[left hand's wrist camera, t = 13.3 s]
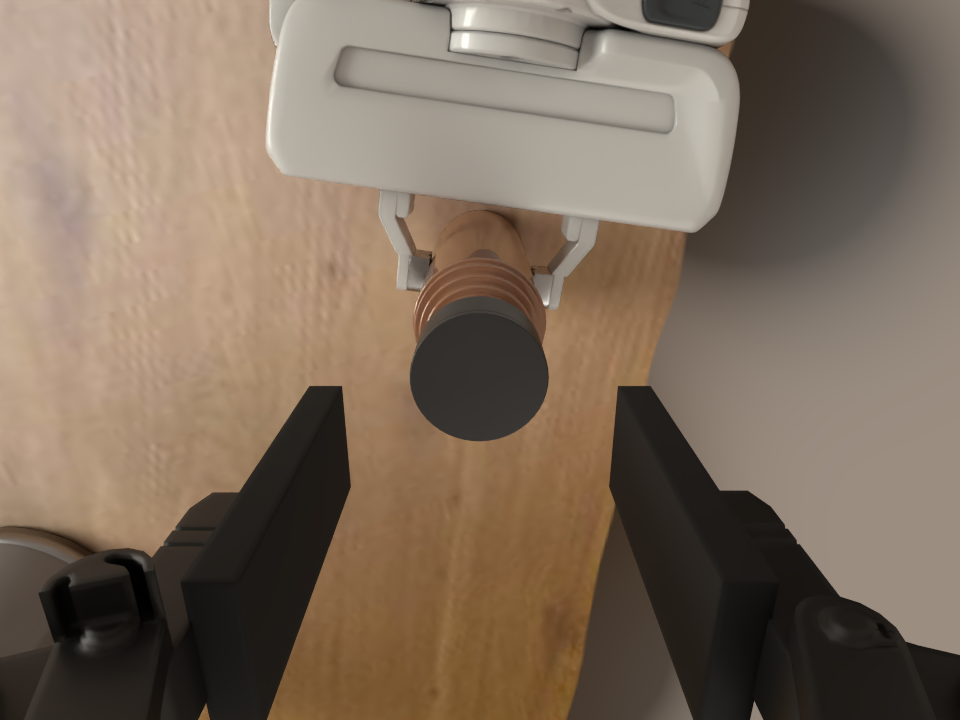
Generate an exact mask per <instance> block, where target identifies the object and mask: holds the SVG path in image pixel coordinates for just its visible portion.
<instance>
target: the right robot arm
mask: <svg viewBox="0 0 960 720" xmlns="http://www.w3.org/2000/svg"><path fill="white" fill-rule="evenodd" d="M749 3H750V0H414V2H412V0H269V27H270V33H271V37H272V40H273V43H274V45H275V47H276V48H277V51H276V56H275V61H274V67H273V73H272V79H271V86H270V94H269V103H268V113H267V126H266V149H267V152H268V154H269V156H270V157H271V159H272V160H273V162H274V163H275V165H276V166H277V168H278V169H279V170H280V172H281V173H282V174H284V175H285V176H289V177H296V178H303V179H310V180H317V181H324V182H331V183H339V184H346V185H353V186H360V187H367V188H374V189H380V198H379V211H378V215H379V218H380V220H381V222H382V224H383V226H384V228H385V230H386V232H387V235H388V237H389V239H390V241H391V243H392V245H393V247H394V249H395V252H396V254H399V261H398V273H397V289H400V290H405V291H416V292H420V290H421V287H422V285H423V282H424V279H425V277H426V274H427V271H428V269H429V266H430V263H431V261H432V252H430V251H424V250H418V249H416V246H415V244H414V241H413V239H412V237H411V234H410V232H409V230H408V227H407V225H406V223H405V220H404V218H407V217H408V216H409V215H410V214H411V212H412V211H413V207H414V198H415V194H417V195H424V196H431V197H438V198H446V199H453V200H460V201H467V202H474V203H481V204H488V205H496V206H503V207H510V208H517V209H524V210H531V211H538V212H545V213H553V214H560V215H563V220H562V226H561V232H562V234H563V235H564V236H565V237H566V238H567V240H568V241H567V242H566V243H565V245H564V246H563V247H562V248H561V250H560V251H559V252H558V253H557V255H556V256H555V257H554V258H553V260H552V261H551V262H550V263H549V265H548V267H542V266H533V265H531V270H532V273H533V276H534V279H535V282H536V284H537V287H538V290H539V293H540V296H541V298H542V301H543V304H544V308H545V309H550V310H557V309H558V306H559V303H560V297H561V292H562V287H563V282H564V277H567V276H568V275H569V274H570V273H571V272H572V271H573V269H574V268H575V267H576V266H577V265H578V264H579V262H580V261H581V260H582V259H583V258H584V257H585V256H586V254H587V253H588V252H589V251H590V250H591V249H592V247H593V246H594V245H595V241H596V236H597V231H598V226H599V222H600V220H603V221H610V222H617V223H624V224H631V225H638V226H645V227H652V228H660V229H667V230H674V231H681V232H689V233H694V232H696V231H698V230H699V229H701V228H702V227H703V226H704V225H705V224H706V223H707V222H708V221H710V220H711V219H712V218H713V217H714V216H715V215H716V214H717V212H718V210H719V208H720V205H721V202H722V198H723V195H724V191H725V187H726V183H727V179H728V174H729V170H730V165H731V160H732V154H733V149H734V143H735V137H736V130H737V122H738V114H739V105H740V89H739V81H738V77H737V73H736V71H735V68H734V66H733V65H732V63H731V62H730V60H729V59H728V58H727V57H726V56H725V55H724V54H723V53H722V52H720V51H719V50H717V48H719V47H722V46H724V45H725V44H727V43H729V42H730V41H732V40H734V39H735V38H736V37H737V36H738V35H739V33H740V32H741V30H742V28H743V25H744V22H745V20H746V16H747V13H748V12H747V11H748V8H749Z"/></svg>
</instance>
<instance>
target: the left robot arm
mask: <svg viewBox="0 0 960 720" xmlns="http://www.w3.org/2000/svg"><path fill="white" fill-rule="evenodd" d="M350 487H351V484H350V472H349V461H348V449H347V438H346V427H345V415H344V404H343V392H342V386H309V388H308V389H307V391H306V392H305V394H304V395H303V397H302V398H301V400H300V401H299V403H298V404H297V406H296V407H295V409H294V410H293V412H292V413H291V415H290V416H289V418H288V419H287V421H286V422H285V424H284V425H283V427H282V429H281V430H280V432H279V433H278V435H277V436H276V438H275V439H274V441H273V442H272V444H271V445H270V447H269V448H268V450H267V451H266V453H265V454H264V456H263V457H262V459H261V460H260V462H259V463H258V465H257V466H256V468H255V469H254V471H253V472H252V474H251V475H250V477H249V478H248V480H247V481H246V483H245V484H244V486H243V487H242V489H241V490H240V492H239V493H211V494H210V495H209V496H207V497H206V498H204V499H203V500H201V501H200V502H198V503H197V504H196V505H194V506H193V507H191V508H190V509H189V510H188V511H187V513H186V514H185V515H184V517H183V518H182V519H181V521H180V522H179V523H178V525H177V526H176V529H175V531H172V532H171V534H170V535H169V536H168V538H167V539H166V540H165V542H164V546H161V547H160V548H159V549H158V551H157V552H156V553H155V555H154V556H153V557H152V558H151V557H150V556H149V555H147V554H146V553H145V552H144V551H140V550H135V549H130V548H125V549H112V550H106V551H102V552H99V553H95V554H93V553H91V552H89V551H88V550H86V549H85V548H83V547H81V546H79V545H77V544H75V543H73V542H71V541H69V540H67V539H64V538H62V537H59V536H56V535H53V534H50V533H46V532H43V531H38V530H33V529H27V528H18V527H0V720H198V719H199V716H200V714H201V712H202V710H203V708H204V706H205V704H206V703H207V708H208V713H209V717H210V720H267V717H268V715H269V712H270V709H271V706H272V704H273V701H274V698H275V695H276V693H277V690H278V687H279V684H280V681H281V679H282V676H283V673H284V670H285V668H286V665H287V662H288V659H289V656H290V654H291V651H292V648H293V645H294V643H295V640H296V637H297V634H298V632H299V629H300V626H301V623H302V620H303V618H304V615H305V612H306V609H307V607H308V604H309V601H310V598H311V595H312V593H313V590H314V587H315V584H316V582H317V579H318V576H319V573H320V571H321V568H322V565H323V562H324V559H325V557H326V554H327V551H328V548H329V546H330V543H331V540H332V537H333V535H334V532H335V529H336V526H337V523H338V521H339V518H340V515H341V512H342V510H343V507H344V504H345V501H346V498H347V496H348V493H349V490H350ZM609 487H610V490H611V493H612V496H613V498H614V501H615V504H616V507H617V510H618V512H619V515H620V518H621V521H622V523H623V526H624V529H625V531H626V535H627V537H628V540H629V543H630V546H631V548H632V551H633V554H634V557H635V559H636V562H637V565H638V568H639V570H640V573H641V576H642V579H643V582H644V584H645V587H646V590H647V593H648V595H649V598H650V601H651V604H652V607H653V609H654V612H655V615H656V618H657V620H658V623H659V626H660V629H661V632H662V634H663V637H664V640H665V643H666V645H667V648H668V651H669V654H670V656H671V659H672V662H673V665H674V667H675V670H676V673H677V676H678V679H679V681H680V684H681V687H682V690H683V692H684V695H685V698H686V701H687V703H688V706H689V709H690V712H691V715H692V717H693V720H750V717H751V712H752V708H753V703H754V701H755V703H756V705H757V707H758V709H759V711H760V713H761V715H762V718H763V720H960V655H957V654H953V653H948V652H944V651H940V650H935V649H931V648H927V647H923V646H918V645H915V644H912V643H908V642H905V640H904V639H903V637H902V636H901V634H900V633H899V631H898V630H897V628H896V627H895V626H894V625H893V624H891V623H890V622H889V621H888V620H887V619H885V618H884V617H883V616H882V615H881V614H879V613H878V612H876V611H874V610H872V609H870V608H868V607H866V606H865V605H863V604H861V603H858V602H855V601H852V600H849V599H846V598H843V597H840V596H839V595H838V594H837V592H836V591H835V590H834V588H833V587H832V586H831V584H830V583H829V582H828V581H827V579H826V578H825V577H824V575H823V574H822V573H821V571H820V570H819V569H818V568H817V566H816V565H815V564H814V562H813V561H812V560H811V558H810V557H809V556H808V554H807V553H806V552H805V551H804V549H803V548H802V547H801V545H800V544H797V540H796V539H795V538H794V536H793V535H792V534H791V532H790V531H789V530H788V529H785V525H784V523H783V522H782V521H781V519H780V518H779V517H778V515H777V514H776V513H775V512H774V510H773V509H772V508H771V507H770V506H769V505H768V504H766V503H765V502H763V501H762V500H760V499H759V498H757V497H756V496H754V495H753V494H752V493H750V492H749V491H720V490H719V489H718V488H717V486H716V485H715V483H714V481H713V480H712V478H711V477H710V475H709V474H708V472H707V471H706V469H705V468H704V466H703V465H702V463H701V462H700V460H699V459H698V457H697V456H696V454H695V453H694V451H693V450H692V448H691V447H690V445H689V444H688V442H687V441H686V439H685V438H684V436H683V435H682V433H681V432H680V430H679V429H678V427H677V426H676V424H675V422H674V421H673V419H672V418H671V416H670V415H669V413H668V412H667V410H666V409H665V407H664V406H663V404H662V403H661V401H660V400H659V398H658V397H657V395H656V394H655V392H654V391H653V389H652V388H651V386H618V392H617V404H616V415H615V427H614V438H613V449H612V461H611V472H610V484H609Z"/></svg>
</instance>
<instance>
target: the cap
mask: <svg viewBox="0 0 960 720" xmlns="http://www.w3.org/2000/svg"><path fill="white" fill-rule="evenodd" d="M548 379H549V375H548V366H547V361H546V358H545V354H544V351H543V347H542V344H541V340H540V337H539V335H538V332H537V330H536V328H535V326H534V325H533V323H532V322H531V321H530V319H529V318H528V317H527V316H526V315H525V314H524V313H523V312H522V311H520V310H519V309H518V308H516V307H515V306H513V305H512V304H510V303H508V302H505V301H503V300H500V299H497V298H492V297H486V296H474V297H466V298H462V299H458V300H456V301H453V302H451V303H449V304H447V305H445V306H444V307H442V308H441V309H439V310H438V311H437V312H436V313H435V314H434V315H432V317H431V318H430V319H429V320H428V321H427V323H426V324H425V326H424V328H423V329H422V331H421V334H420V336H419V339H418V342H417V346H416V349H415V353H414V356H413V359H412V363H411V368H410V385H411V391H412V394H413V398H414V400H415V402H416V404H417V406H418V408H419V409H420V411H421V413H422V414H423V415H424V416H425V417H426V419H427V420H428V421H429V422H431V423H432V424H433V425H434V426H435V427H437V428H438V429H439V430H441V431H443V432H445V433H446V434H449V435H451V436H453V437H456V438H460V439H464V440H470V441H489V440H495V439H499V438H502V437H505V436H508V435H510V434H512V433H514V432H516V431H517V430H519V429H520V428H522V427H523V426H524V425H526V424H527V423H528V422H529V421H530V420H531V419H532V418H533V417H534V416H535V414H536V413H537V412H538V410H539V409H540V407H541V405H542V403H543V401H544V398H545V396H546V392H547V388H548Z"/></svg>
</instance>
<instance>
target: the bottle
mask: <svg viewBox="0 0 960 720" xmlns="http://www.w3.org/2000/svg"><path fill="white" fill-rule="evenodd" d="M474 296H486V297H492V298H497V299H500V300H503V301H505V302H508V303H510V304H512V305H513V306H515V307H516V308H518V309H519V310H520V311H522V312H523V313H524V314H525V315H526V316H527V317H528V318H529V319H530V321H531V322H532V323H533V325H534V326H535V328H536V330H537V332H538V335H539V337H540V340H541V344H542V343H543V339H544V335H545V330H546V313H545V308H544V304H543V301H542V298H541V296H540V293H539V290H538V287H537V284H536V282H535V279H534V276H533V273H532V270H531V268H530V265H529V262H528V259H527V256H526V254H525V251H524V248H523V245H522V243H521V240H520V237H519V235H518V233H517V231H516V229H515V228H514V227H513V225H512V224H511V223H510V222H509V221H508V220H506V219H505V218H504V217H502V216H500V215H498V214H496V213H493V212H490V211H484V210H477V211H470V212H467V213H464V214H461V215H460V216H458V217H456V218H455V219H454V220H452V221H451V222H450V223H449V224H448V225H447V227H446V228H445V229H444V231H443V232H442V234H441V237H440V239H439V242H438V244H437V247H436V250H435V253H434V255H433V258H432V261H431V263H430V266H429V269H428V271H427V274H426V277H425V279H424V282H423V285H422V287H421V290H420V293H419V295H418V298H417V301H416V304H415V308H414V314H413V329H414V335H415V339H416V343H417V342H418V339H419V336H420V334H421V331H422V329H423V328H424V326H425V324H426V323H427V321H428V320H429V319H430V318H431V317H432V315H434V314H435V313H436V312H437V311H438V310H439V309H441V308H442V307H444V306H445V305H447V304H449V303H451V302H453V301H456V300H458V299H462V298H466V297H474Z"/></svg>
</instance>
